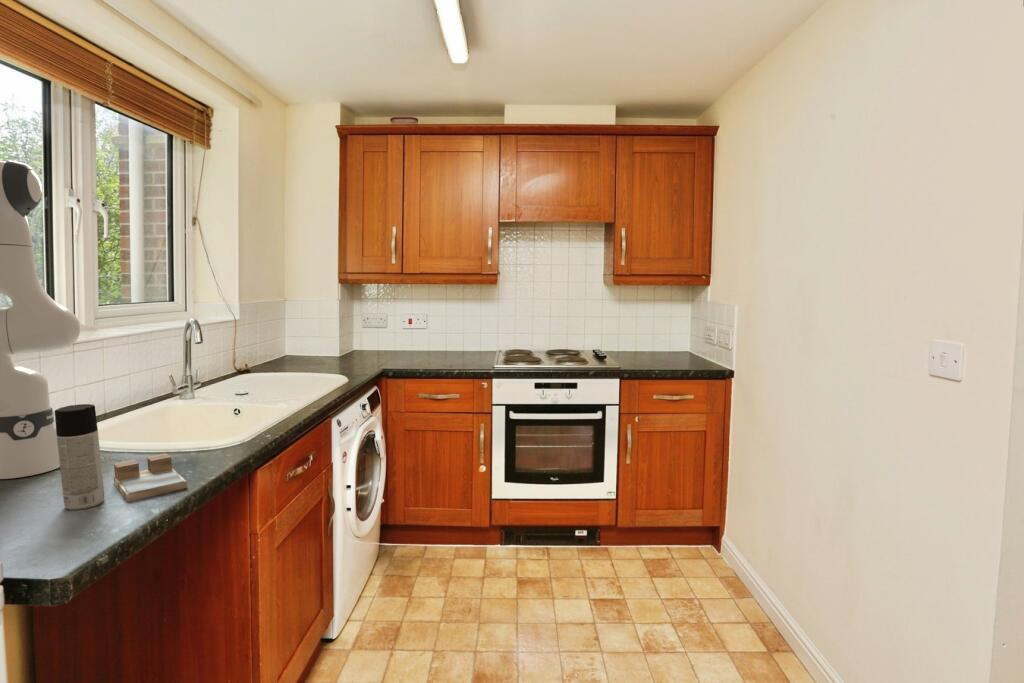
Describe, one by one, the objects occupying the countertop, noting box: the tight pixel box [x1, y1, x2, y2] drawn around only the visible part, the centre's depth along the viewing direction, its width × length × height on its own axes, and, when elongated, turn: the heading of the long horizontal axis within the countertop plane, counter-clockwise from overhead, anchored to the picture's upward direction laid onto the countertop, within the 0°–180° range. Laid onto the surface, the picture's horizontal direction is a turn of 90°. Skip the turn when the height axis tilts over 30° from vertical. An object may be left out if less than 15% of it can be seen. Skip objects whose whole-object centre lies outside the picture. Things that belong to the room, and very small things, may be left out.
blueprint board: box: [113, 452, 188, 502], centre depth 129 cm, size 15×11×4 cm
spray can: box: [54, 403, 105, 511], centre depth 118 cm, size 7×7×20 cm
